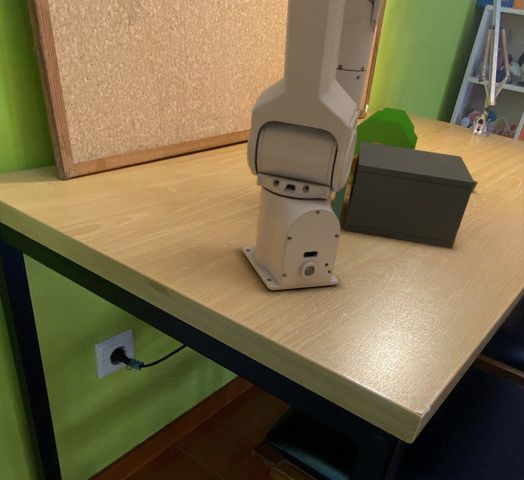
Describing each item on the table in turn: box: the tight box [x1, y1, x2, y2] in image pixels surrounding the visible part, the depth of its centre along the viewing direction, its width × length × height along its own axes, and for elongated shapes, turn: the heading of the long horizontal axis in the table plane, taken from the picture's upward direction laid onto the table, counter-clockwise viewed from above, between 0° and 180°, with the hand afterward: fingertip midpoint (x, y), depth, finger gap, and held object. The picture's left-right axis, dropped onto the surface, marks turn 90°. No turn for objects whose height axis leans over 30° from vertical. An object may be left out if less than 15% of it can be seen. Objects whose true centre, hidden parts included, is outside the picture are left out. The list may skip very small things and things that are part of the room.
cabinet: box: [344, 141, 475, 249], centre depth 69 cm, size 14×12×9 cm
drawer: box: [332, 175, 350, 222], centre depth 69 cm, size 18×11×7 cm, turn 80°
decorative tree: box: [349, 107, 419, 180], centre depth 86 cm, size 11×12×30 cm
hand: (324, 178), depth 70 cm, fingers closed, pressing on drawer
